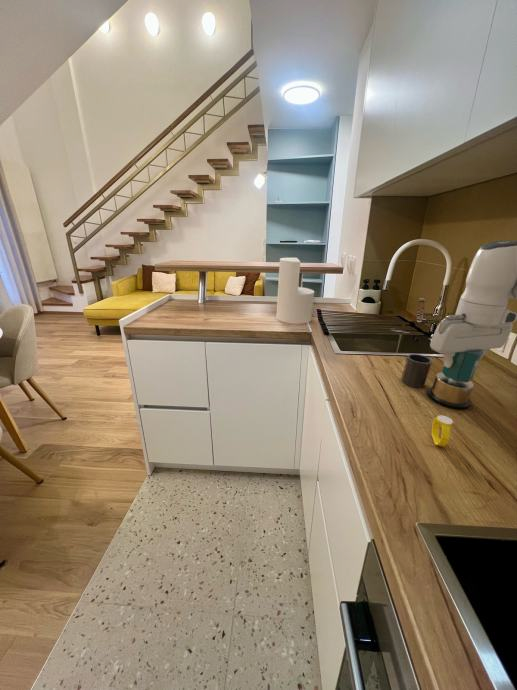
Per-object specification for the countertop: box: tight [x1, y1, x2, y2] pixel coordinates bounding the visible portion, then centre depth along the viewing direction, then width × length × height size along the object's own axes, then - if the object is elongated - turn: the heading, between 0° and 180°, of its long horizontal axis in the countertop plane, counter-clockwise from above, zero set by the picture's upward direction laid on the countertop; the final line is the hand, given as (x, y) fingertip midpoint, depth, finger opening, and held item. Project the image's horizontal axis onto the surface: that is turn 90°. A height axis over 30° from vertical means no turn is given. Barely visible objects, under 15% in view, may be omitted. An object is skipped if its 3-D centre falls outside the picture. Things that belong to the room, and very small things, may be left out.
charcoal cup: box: [400, 353, 433, 389], centre depth 82 cm, size 6×6×8 cm
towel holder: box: [426, 371, 475, 411], centre depth 73 cm, size 10×10×14 cm
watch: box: [431, 414, 454, 447], centre depth 59 cm, size 6×3×6 cm, turn 163°
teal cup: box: [441, 350, 482, 382], centre depth 71 cm, size 6×6×8 cm
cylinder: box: [275, 257, 315, 325], centre depth 133 cm, size 17×17×28 cm
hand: (460, 365), depth 72 cm, fingers closed on teal cup, 6 cm apart
